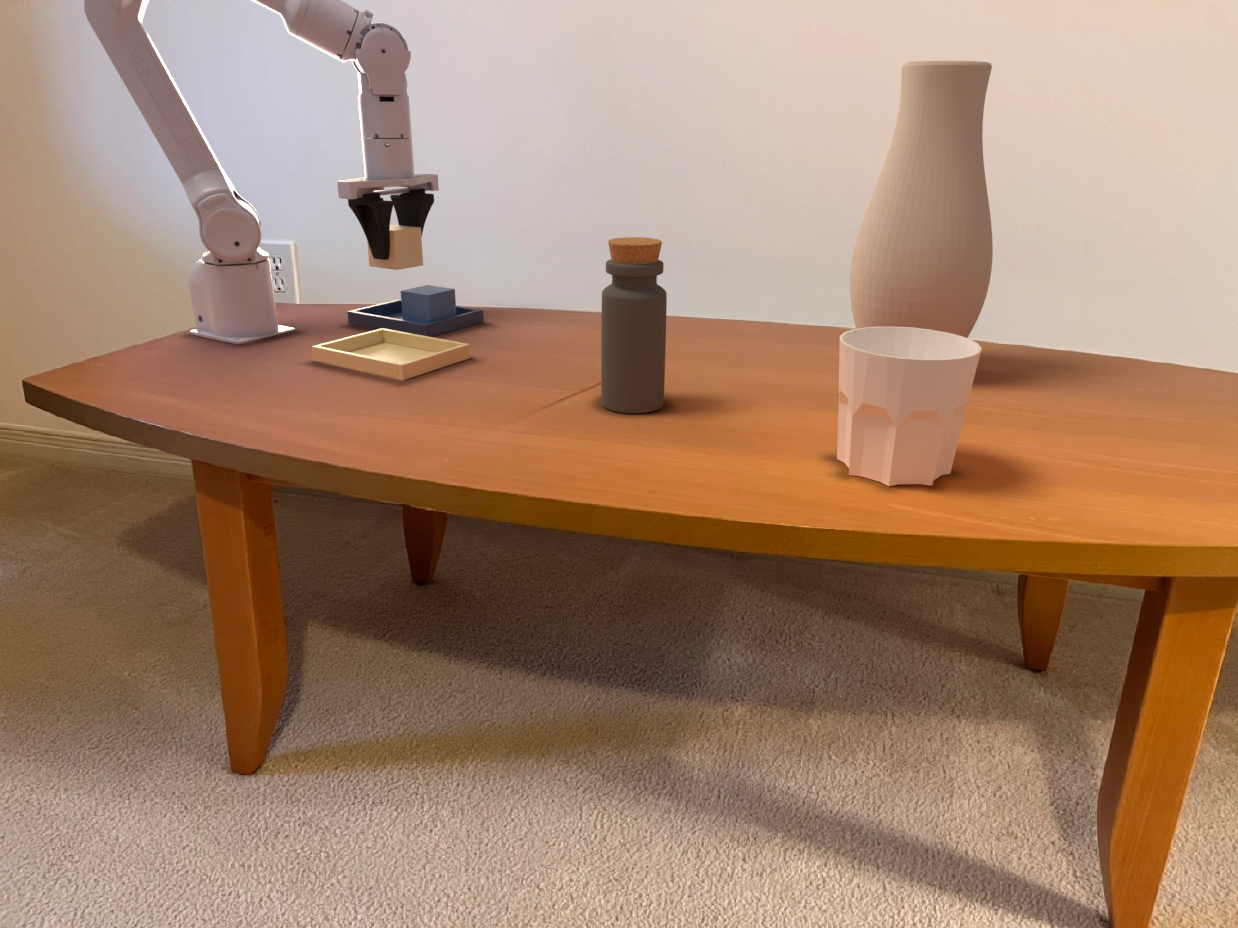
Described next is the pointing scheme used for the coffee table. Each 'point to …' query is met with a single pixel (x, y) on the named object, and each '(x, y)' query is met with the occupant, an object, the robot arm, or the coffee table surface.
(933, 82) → the vase
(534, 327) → the coffee table surface
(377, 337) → the cream tray
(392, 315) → the blue tray
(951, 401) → the cup
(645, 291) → the bottle
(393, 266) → the cream block
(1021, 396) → the coffee table surface
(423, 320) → the blue block
